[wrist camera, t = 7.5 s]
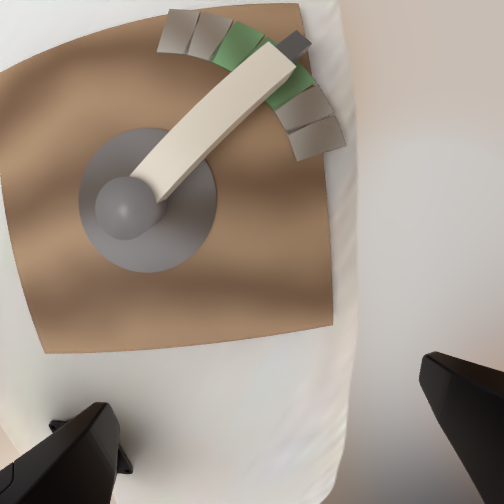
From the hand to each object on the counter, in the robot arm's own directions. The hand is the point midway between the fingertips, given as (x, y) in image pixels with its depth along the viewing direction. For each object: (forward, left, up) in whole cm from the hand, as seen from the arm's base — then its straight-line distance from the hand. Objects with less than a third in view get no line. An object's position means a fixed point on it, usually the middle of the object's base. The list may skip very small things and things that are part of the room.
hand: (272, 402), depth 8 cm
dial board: (+6, +5, -12) cm, 14 cm away
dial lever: (+8, +1, -10) cm, 13 cm away
